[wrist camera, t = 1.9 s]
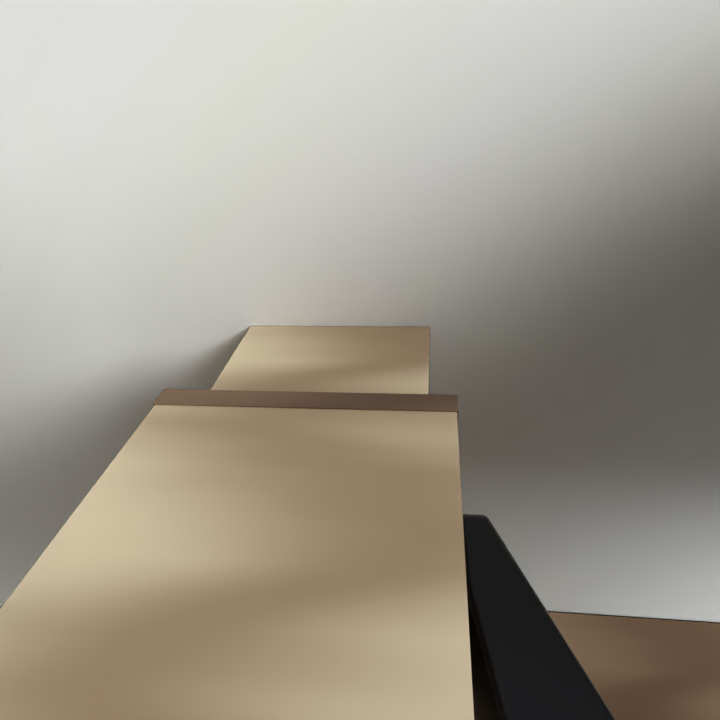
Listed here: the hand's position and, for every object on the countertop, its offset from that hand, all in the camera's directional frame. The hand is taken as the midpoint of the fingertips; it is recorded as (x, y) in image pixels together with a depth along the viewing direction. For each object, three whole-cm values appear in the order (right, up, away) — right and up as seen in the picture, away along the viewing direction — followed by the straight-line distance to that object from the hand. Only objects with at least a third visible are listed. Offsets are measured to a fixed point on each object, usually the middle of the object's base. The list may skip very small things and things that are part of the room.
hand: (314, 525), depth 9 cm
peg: (0, +2, +3) cm, 4 cm away
